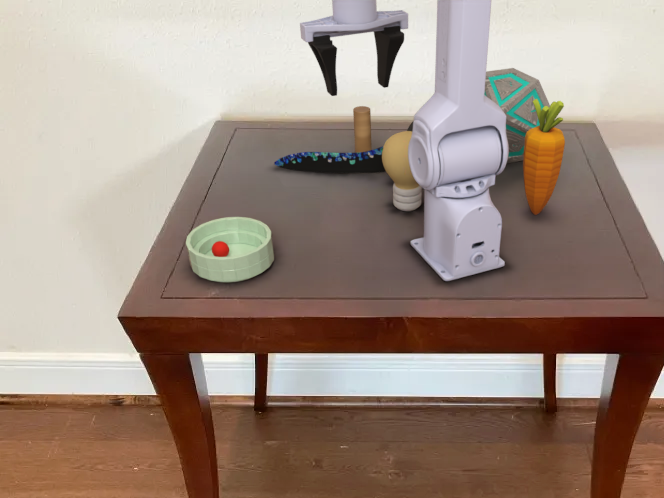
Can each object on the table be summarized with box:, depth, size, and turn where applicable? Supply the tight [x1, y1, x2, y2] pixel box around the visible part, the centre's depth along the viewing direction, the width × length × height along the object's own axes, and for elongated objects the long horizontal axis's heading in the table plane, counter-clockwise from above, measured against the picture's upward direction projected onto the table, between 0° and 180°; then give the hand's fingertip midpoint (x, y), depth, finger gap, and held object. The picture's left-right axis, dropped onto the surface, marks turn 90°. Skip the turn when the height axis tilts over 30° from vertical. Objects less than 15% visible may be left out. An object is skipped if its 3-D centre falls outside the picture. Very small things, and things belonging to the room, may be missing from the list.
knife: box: [273, 145, 387, 174], centre depth 102 cm, size 31×3×4 cm, turn 75°
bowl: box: [185, 216, 275, 283], centre depth 85 cm, size 10×10×4 cm
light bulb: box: [382, 130, 423, 212], centre depth 93 cm, size 6×6×10 cm
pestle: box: [352, 105, 373, 153], centre depth 105 cm, size 4×4×8 cm
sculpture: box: [484, 67, 551, 165], centre depth 105 cm, size 13×14×30 cm
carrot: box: [522, 99, 566, 216], centre depth 90 cm, size 5×5×15 cm
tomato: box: [212, 241, 229, 257], centre depth 85 cm, size 2×2×2 cm
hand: (358, 89), depth 101 cm, fingers open, 7 cm apart
